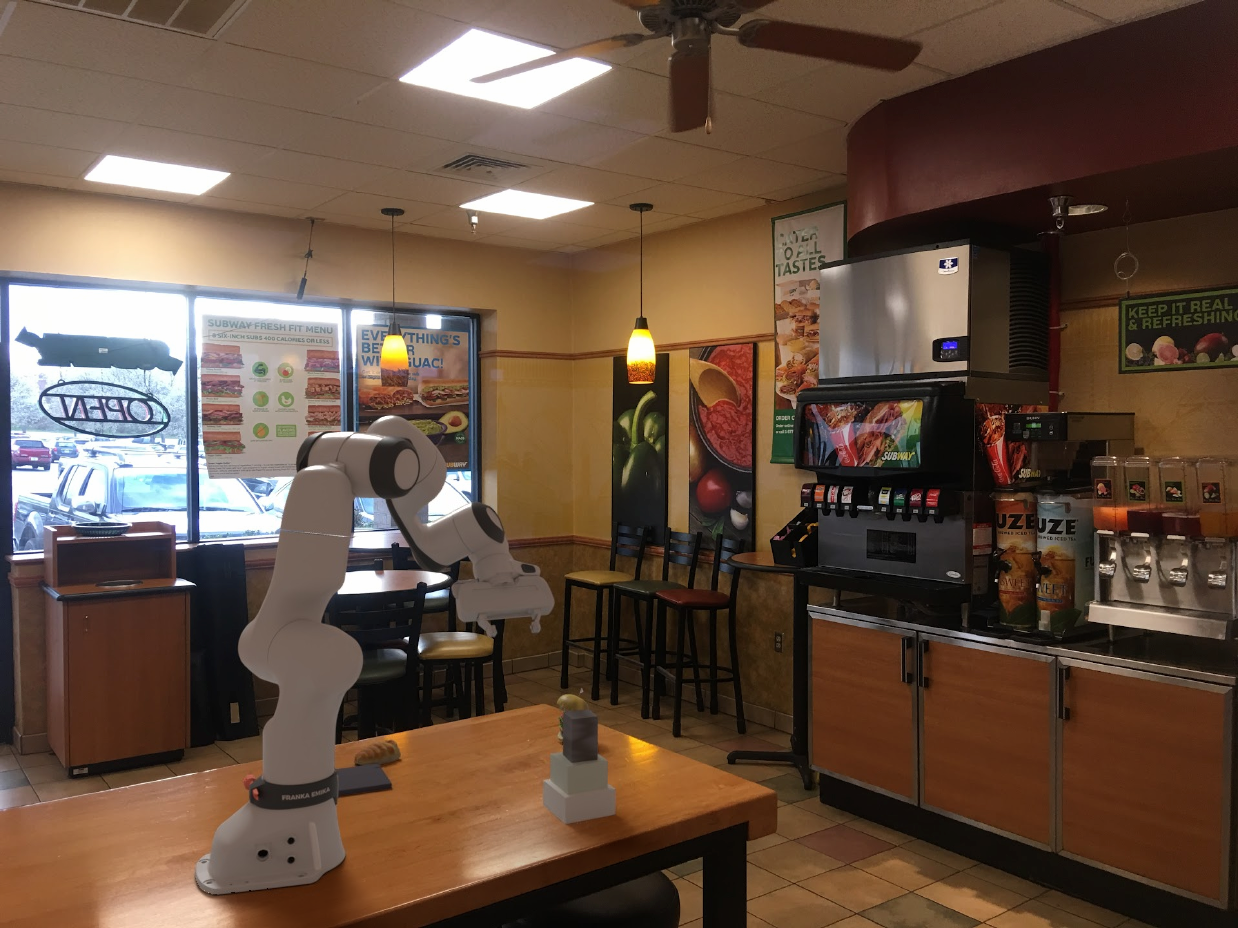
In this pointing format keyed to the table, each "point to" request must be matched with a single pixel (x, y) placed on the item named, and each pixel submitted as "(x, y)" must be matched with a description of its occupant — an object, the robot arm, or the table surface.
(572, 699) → the hamburger
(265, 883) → the robot arm
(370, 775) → the notebook
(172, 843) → the table surface
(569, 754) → the charcoal block
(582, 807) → the tower base
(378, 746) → the pastry
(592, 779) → the tower top
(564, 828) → the table surface
